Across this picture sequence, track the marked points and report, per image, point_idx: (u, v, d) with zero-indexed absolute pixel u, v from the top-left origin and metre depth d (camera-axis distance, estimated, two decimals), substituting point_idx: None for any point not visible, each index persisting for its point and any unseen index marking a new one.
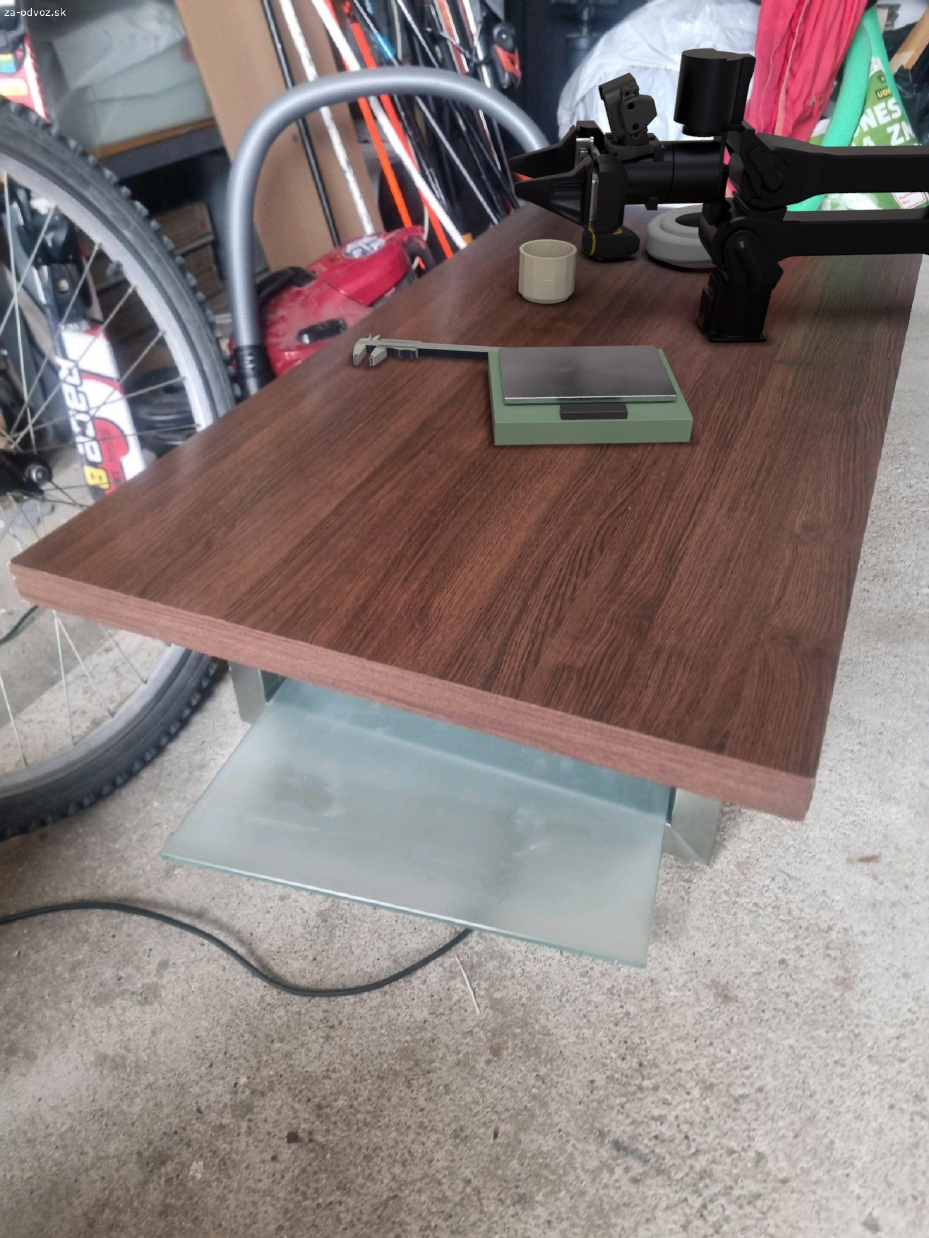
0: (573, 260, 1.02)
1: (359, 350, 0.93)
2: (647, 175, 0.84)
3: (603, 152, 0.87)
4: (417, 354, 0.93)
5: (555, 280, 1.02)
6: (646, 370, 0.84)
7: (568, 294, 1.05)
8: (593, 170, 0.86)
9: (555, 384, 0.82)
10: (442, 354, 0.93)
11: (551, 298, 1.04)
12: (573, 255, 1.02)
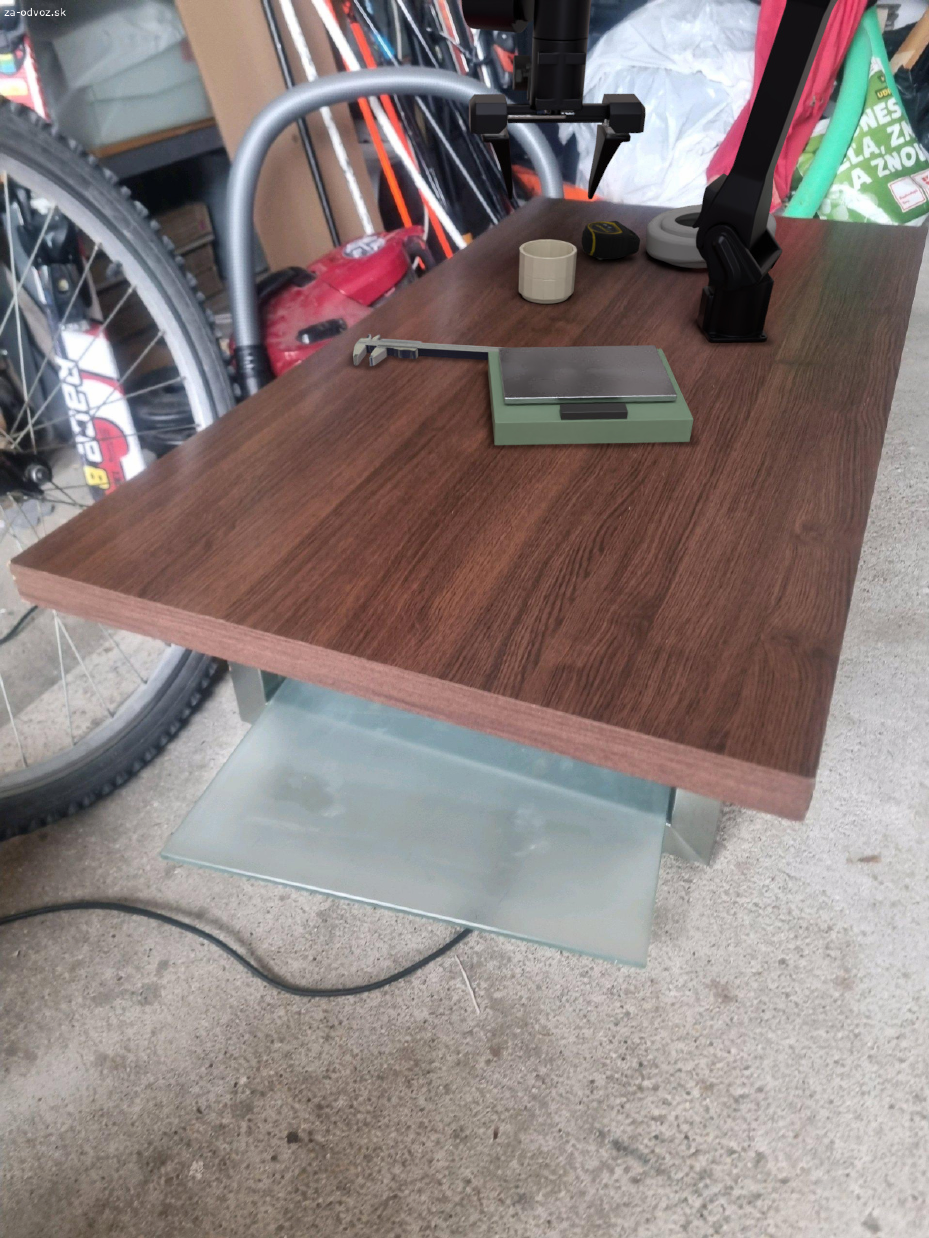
0: (573, 260, 1.02)
1: (359, 350, 0.93)
2: (531, 64, 0.91)
3: None
4: (417, 354, 0.93)
5: (555, 280, 1.02)
6: (646, 370, 0.84)
7: (568, 294, 1.05)
8: None
9: (555, 384, 0.82)
10: (442, 354, 0.93)
11: (551, 298, 1.04)
12: (573, 255, 1.02)
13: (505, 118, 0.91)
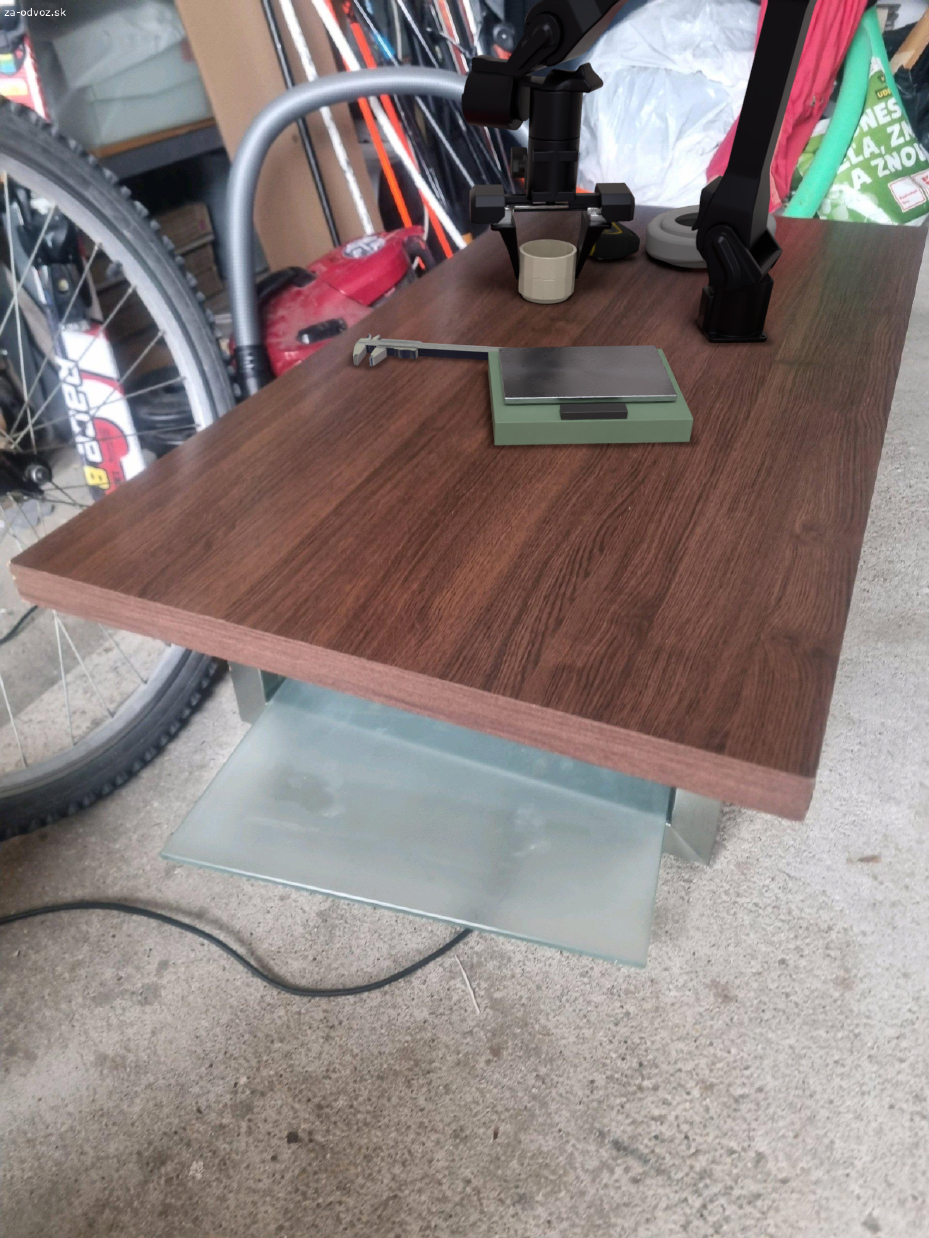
0: (573, 260, 1.02)
1: (359, 350, 0.93)
2: (527, 159, 0.97)
3: None
4: (417, 354, 0.93)
5: (555, 280, 1.02)
6: (646, 370, 0.84)
7: (568, 294, 1.05)
8: None
9: (555, 384, 0.82)
10: (442, 354, 0.93)
11: (551, 298, 1.04)
12: (573, 255, 1.02)
13: (503, 209, 0.97)
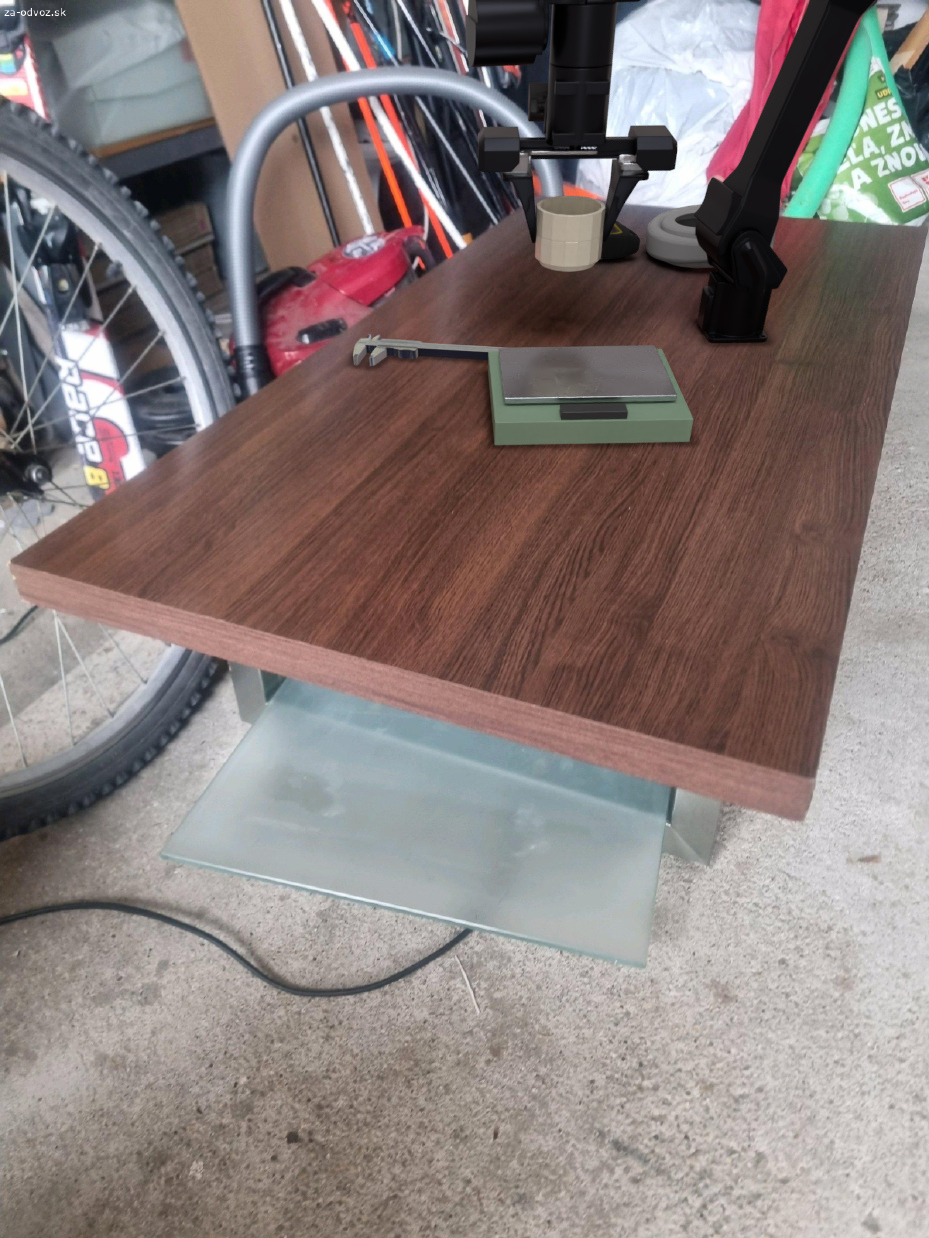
0: (601, 218, 0.85)
1: (359, 350, 0.93)
2: None
3: None
4: (417, 354, 0.93)
5: (579, 243, 0.86)
6: (646, 370, 0.84)
7: (594, 260, 0.88)
8: None
9: (555, 384, 0.82)
10: (442, 354, 0.93)
11: (573, 265, 0.87)
12: (601, 213, 0.85)
13: (517, 155, 0.81)
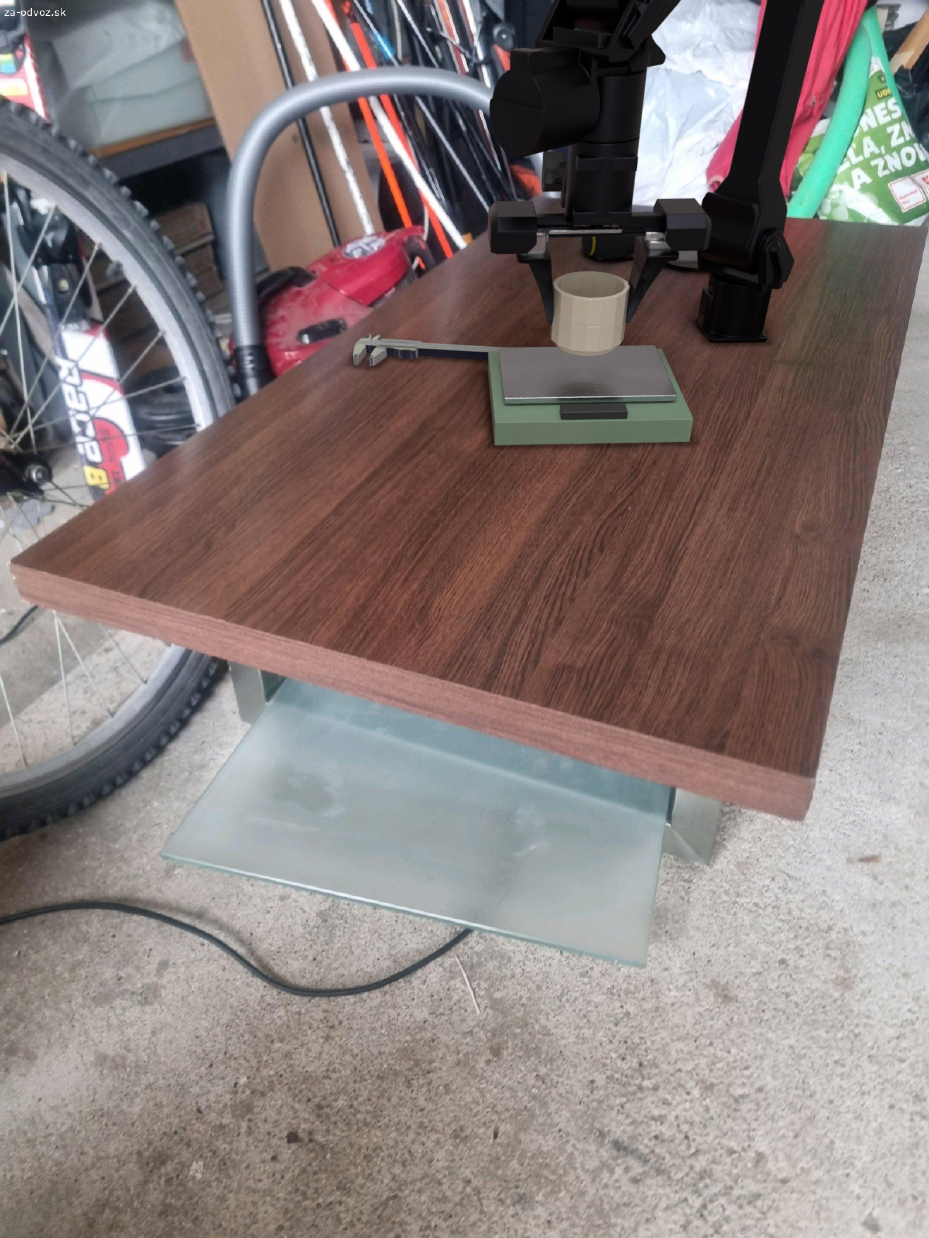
0: (625, 300, 0.78)
1: (359, 350, 0.93)
2: (567, 167, 0.72)
3: None
4: (417, 354, 0.93)
5: (601, 326, 0.78)
6: (646, 370, 0.84)
7: (617, 344, 0.80)
8: None
9: (555, 384, 0.82)
10: (442, 354, 0.93)
11: (595, 349, 0.79)
12: (625, 294, 0.77)
13: (534, 235, 0.72)
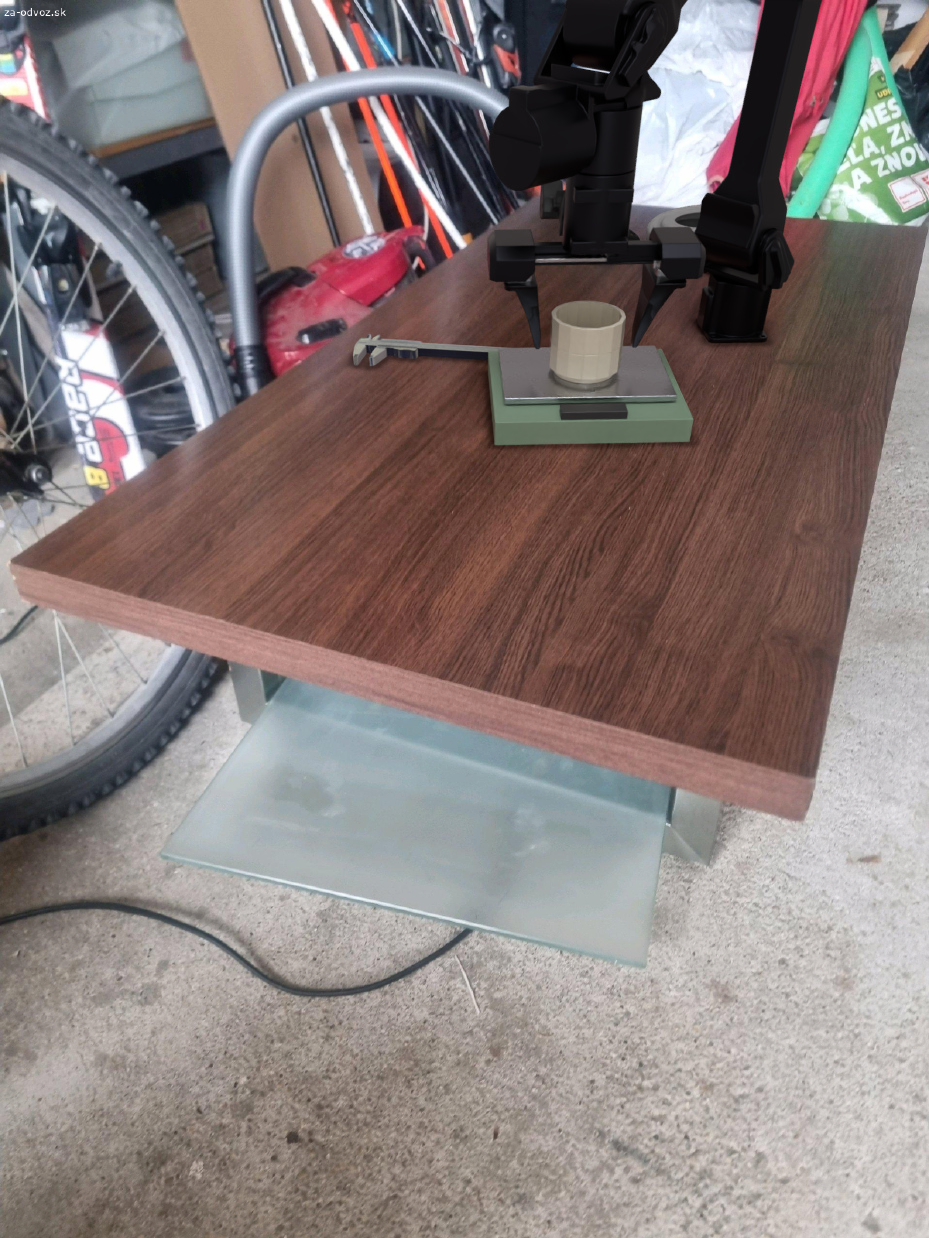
0: (622, 329, 0.79)
1: (359, 350, 0.93)
2: None
3: None
4: (417, 354, 0.93)
5: (598, 356, 0.79)
6: (646, 370, 0.84)
7: (614, 372, 0.82)
8: None
9: (555, 384, 0.82)
10: (442, 354, 0.93)
11: (592, 377, 0.81)
12: (622, 324, 0.79)
13: (533, 264, 0.74)
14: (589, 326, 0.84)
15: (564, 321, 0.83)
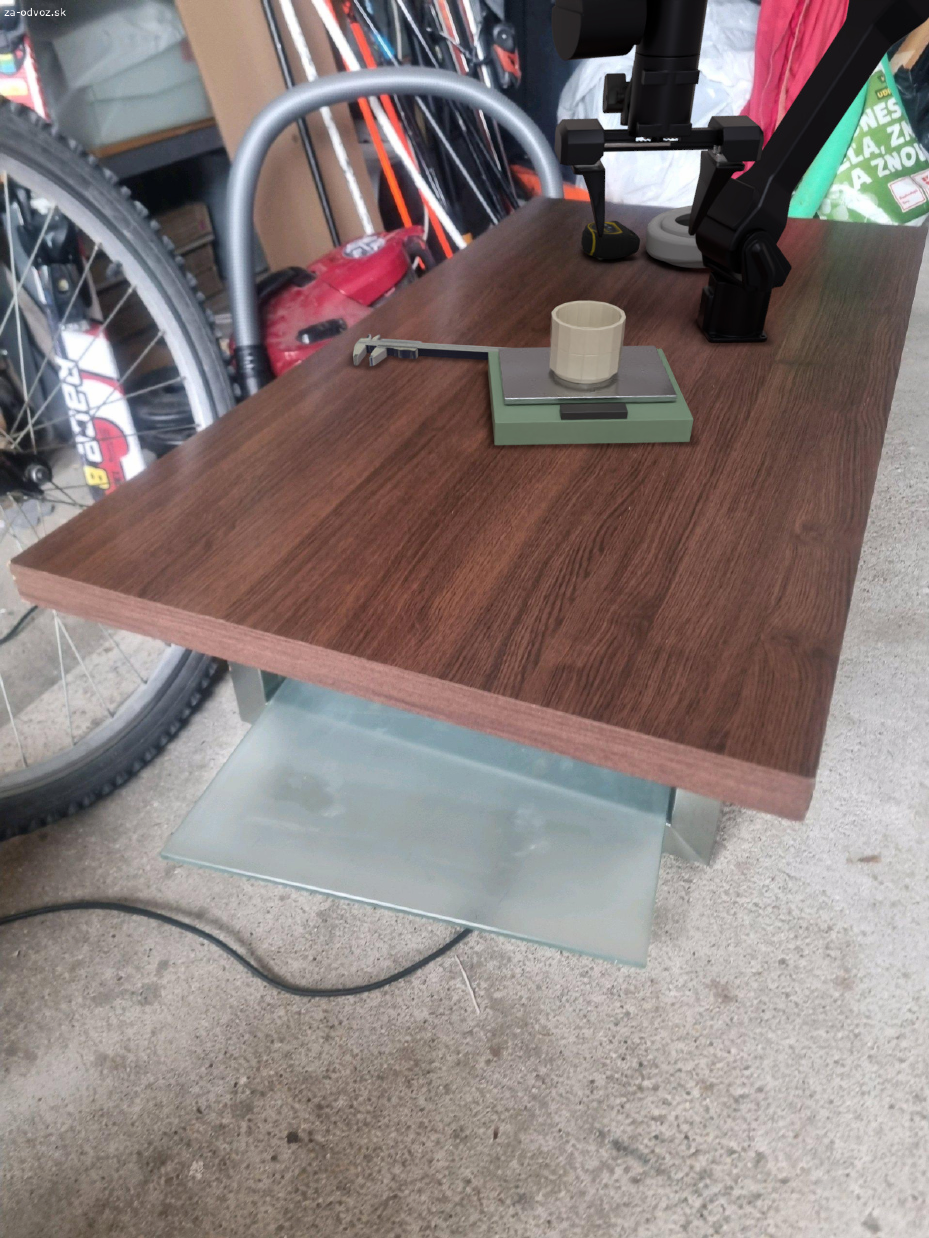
0: (622, 329, 0.79)
1: (359, 350, 0.93)
2: (631, 84, 0.79)
3: None
4: (417, 354, 0.93)
5: (598, 356, 0.79)
6: (646, 370, 0.84)
7: (614, 372, 0.82)
8: None
9: (555, 384, 0.82)
10: (442, 354, 0.93)
11: (592, 377, 0.81)
12: (622, 324, 0.79)
13: (602, 147, 0.79)
14: (589, 326, 0.84)
15: (564, 321, 0.83)
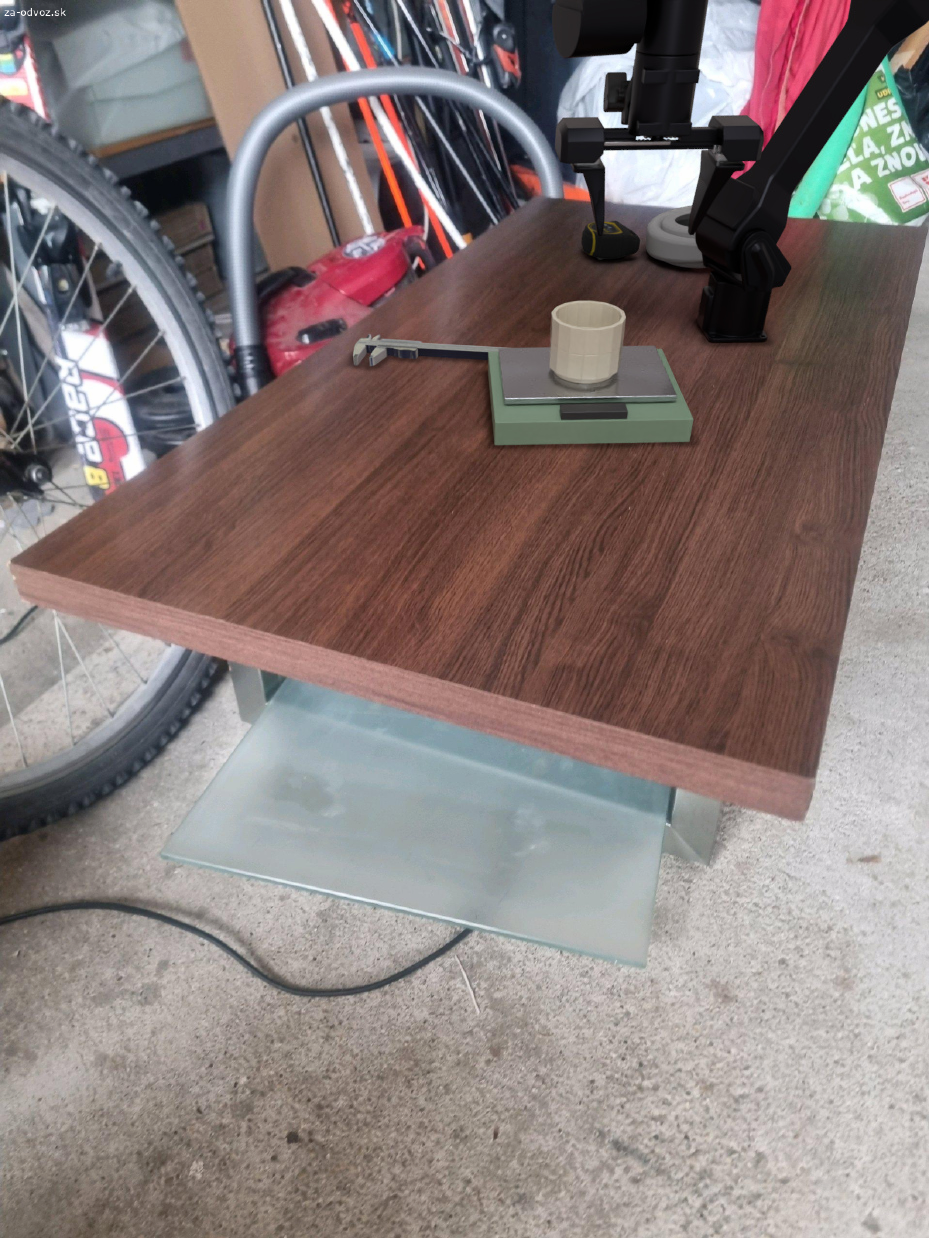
0: (622, 329, 0.79)
1: (359, 350, 0.93)
2: (632, 83, 0.79)
3: None
4: (417, 354, 0.93)
5: (598, 356, 0.79)
6: (646, 370, 0.84)
7: (614, 372, 0.82)
8: None
9: (555, 384, 0.82)
10: (442, 354, 0.93)
11: (592, 377, 0.81)
12: (622, 324, 0.79)
13: (602, 145, 0.79)
14: (589, 326, 0.84)
15: (564, 321, 0.83)
